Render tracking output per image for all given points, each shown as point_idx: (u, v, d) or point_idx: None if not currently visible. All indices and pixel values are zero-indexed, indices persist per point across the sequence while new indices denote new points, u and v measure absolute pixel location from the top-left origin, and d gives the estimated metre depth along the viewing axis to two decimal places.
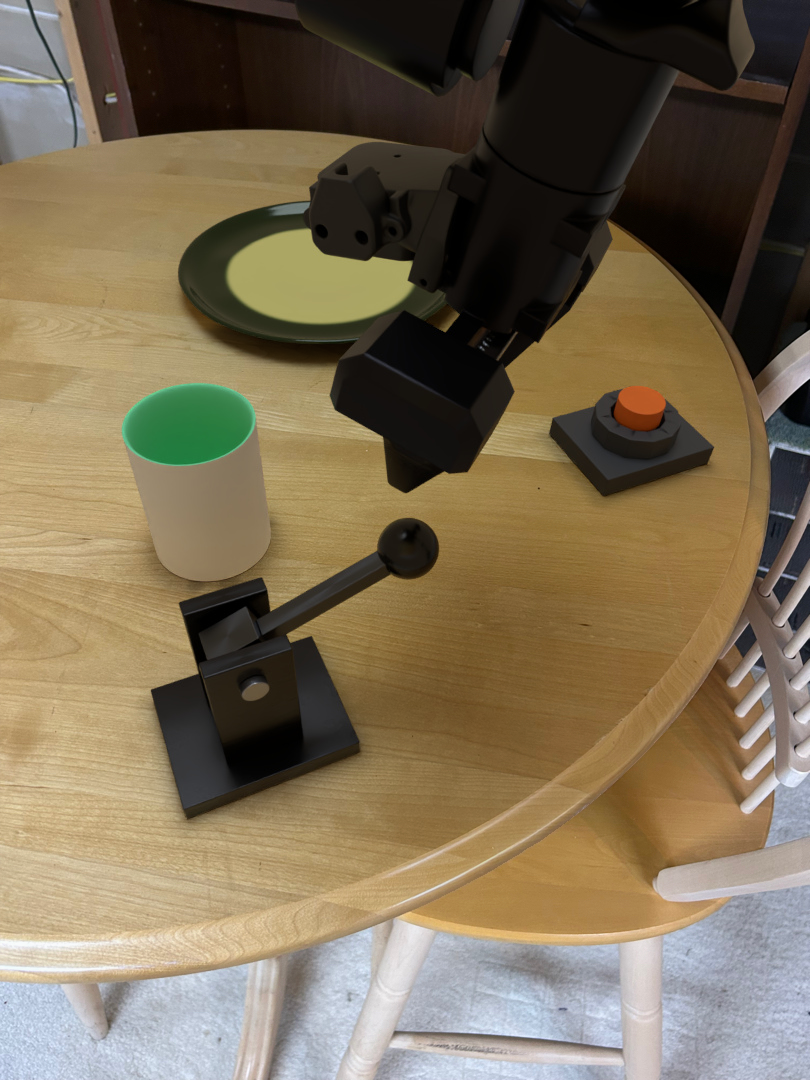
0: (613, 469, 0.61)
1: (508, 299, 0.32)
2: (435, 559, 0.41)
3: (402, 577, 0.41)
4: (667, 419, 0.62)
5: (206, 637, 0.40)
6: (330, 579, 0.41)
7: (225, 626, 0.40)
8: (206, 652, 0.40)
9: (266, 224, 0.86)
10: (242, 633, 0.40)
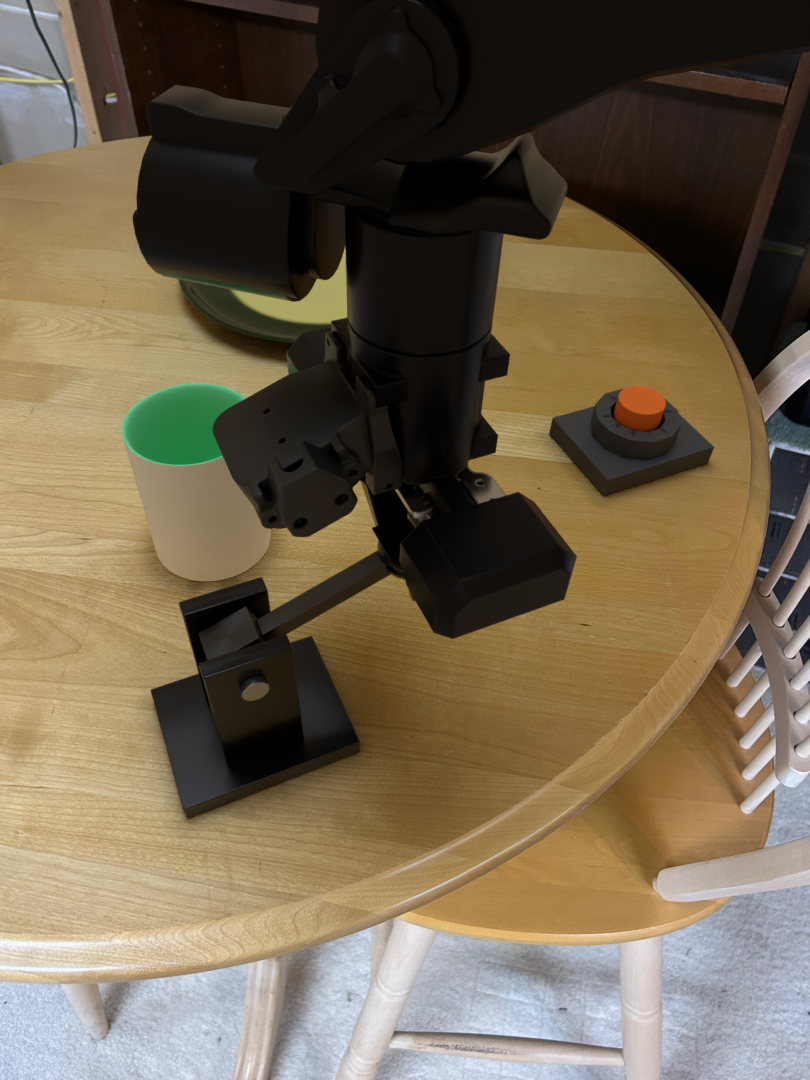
0: (613, 469, 0.61)
1: (463, 443, 0.34)
2: None
3: (402, 577, 0.41)
4: (667, 419, 0.62)
5: (206, 637, 0.40)
6: (330, 579, 0.41)
7: (225, 626, 0.40)
8: (206, 652, 0.40)
9: None
10: (242, 633, 0.40)
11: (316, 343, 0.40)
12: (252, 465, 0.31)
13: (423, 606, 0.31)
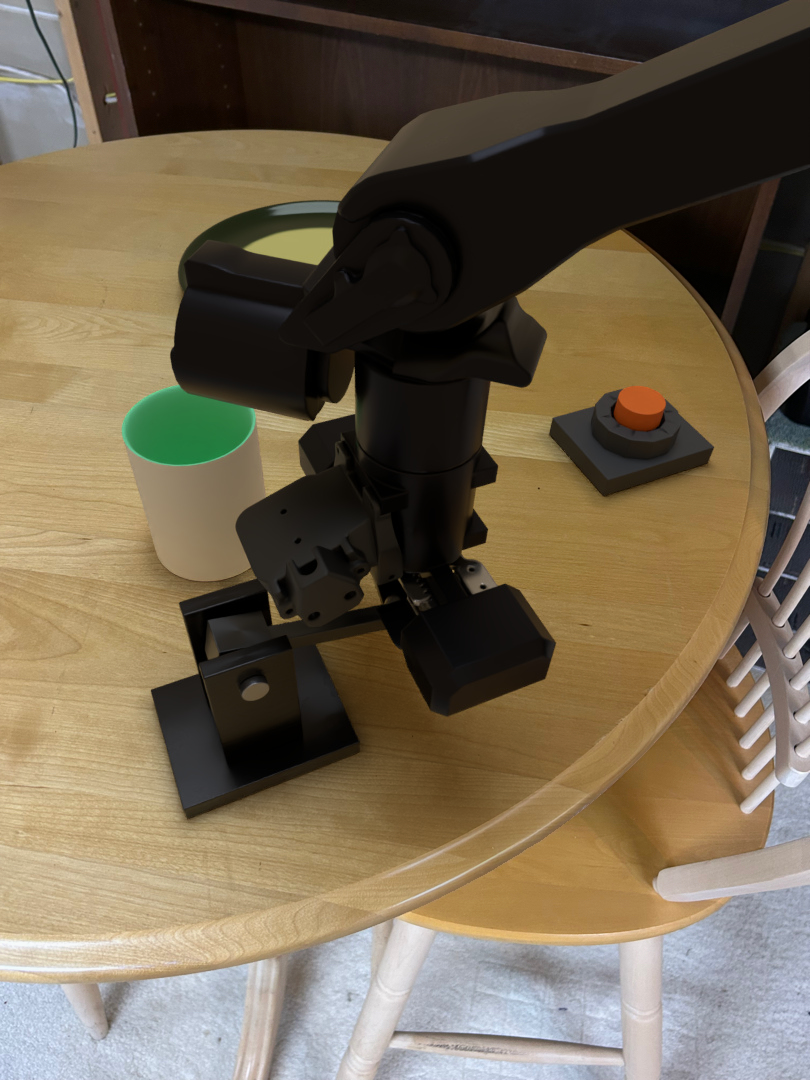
0: (613, 469, 0.61)
1: (457, 538, 0.38)
2: None
3: None
4: (667, 419, 0.62)
5: (216, 626, 0.40)
6: None
7: (237, 622, 0.41)
8: (216, 639, 0.40)
9: (266, 224, 0.86)
10: (256, 633, 0.40)
11: (325, 435, 0.44)
12: (271, 563, 0.36)
13: (421, 687, 0.36)
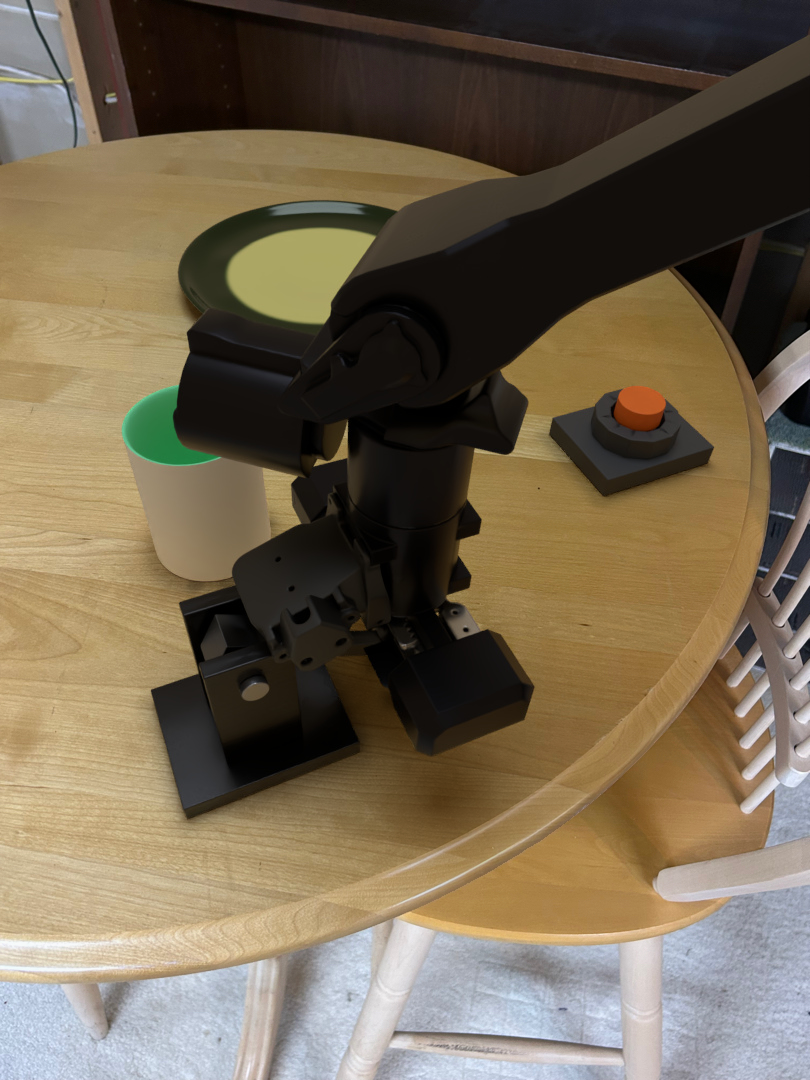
0: (613, 469, 0.61)
1: (442, 585, 0.40)
2: None
3: None
4: (667, 419, 0.62)
5: (224, 621, 0.40)
6: None
7: (243, 621, 0.41)
8: (223, 634, 0.40)
9: (266, 224, 0.86)
10: (261, 635, 0.41)
11: (317, 479, 0.46)
12: (266, 610, 0.38)
13: (407, 728, 0.38)
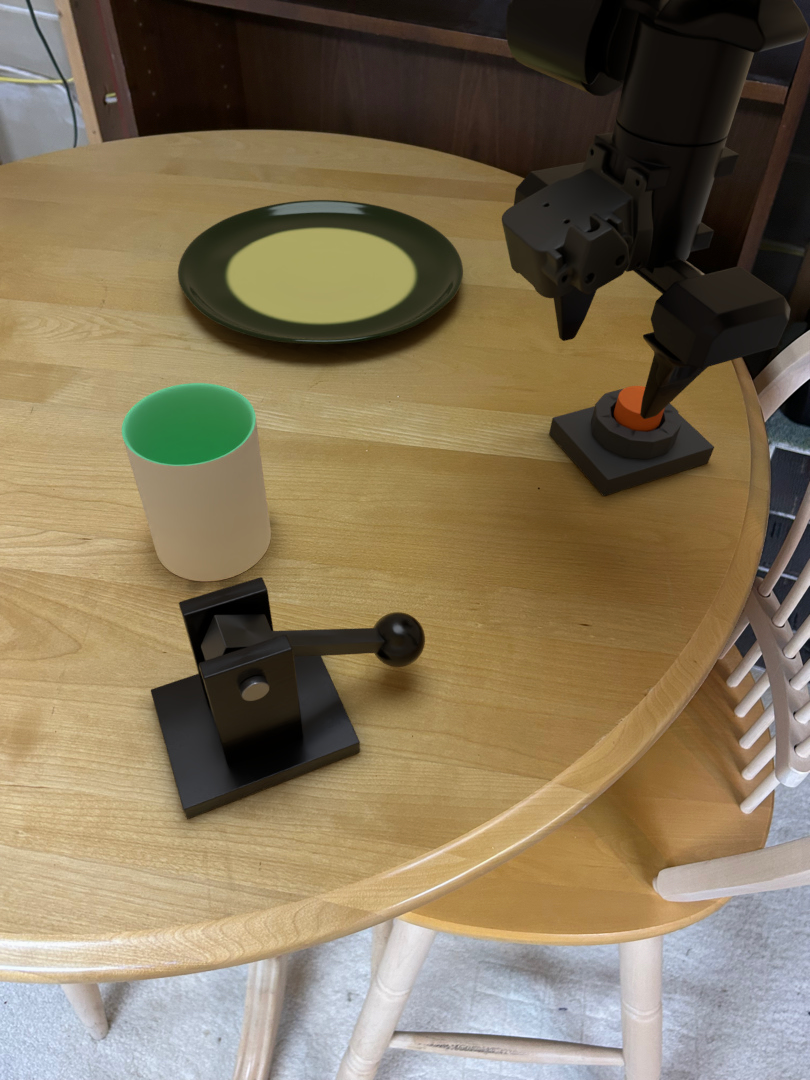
0: (613, 469, 0.61)
1: (692, 233, 0.44)
2: (417, 658, 0.47)
3: (390, 659, 0.46)
4: (667, 419, 0.62)
5: (223, 622, 0.40)
6: (336, 630, 0.44)
7: (242, 621, 0.41)
8: (223, 634, 0.40)
9: (266, 224, 0.86)
10: (261, 634, 0.41)
11: (544, 178, 0.49)
12: (547, 239, 0.41)
13: (676, 346, 0.41)
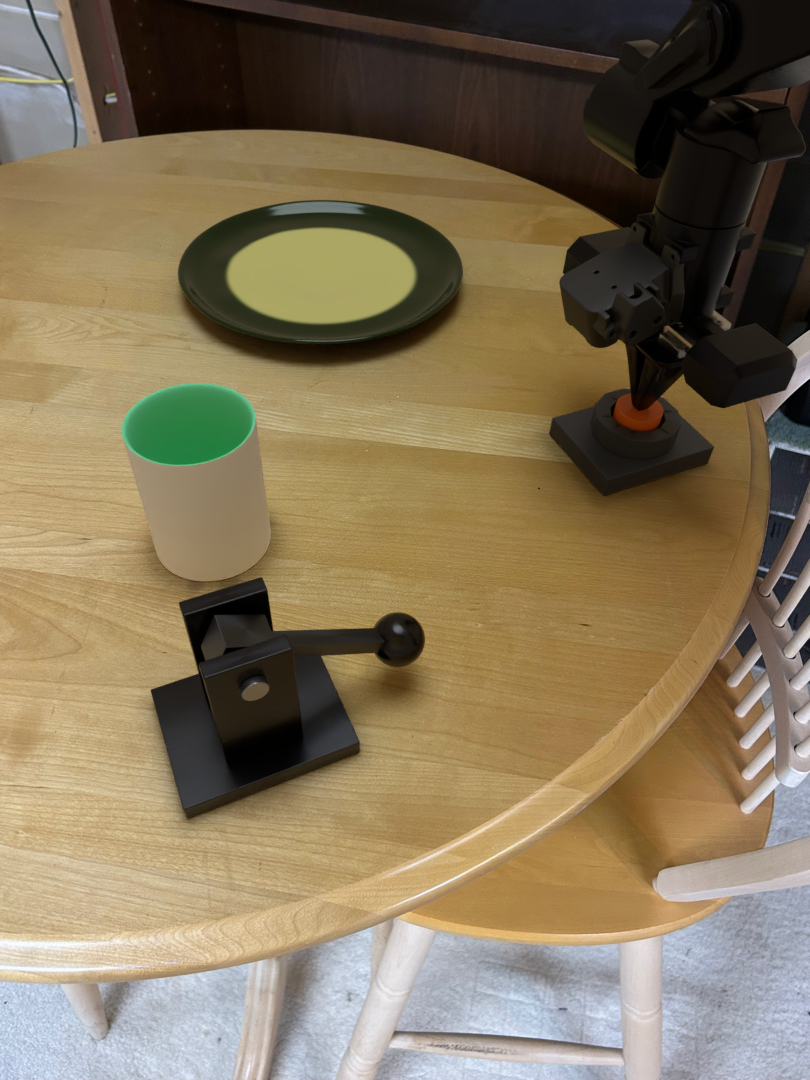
0: (613, 469, 0.61)
1: (717, 295, 0.53)
2: (417, 658, 0.47)
3: (390, 659, 0.46)
4: (667, 419, 0.62)
5: (223, 622, 0.40)
6: (336, 630, 0.44)
7: (242, 621, 0.41)
8: (223, 634, 0.40)
9: (266, 224, 0.86)
10: (261, 634, 0.41)
11: (591, 242, 0.59)
12: (597, 301, 0.50)
13: (703, 390, 0.51)
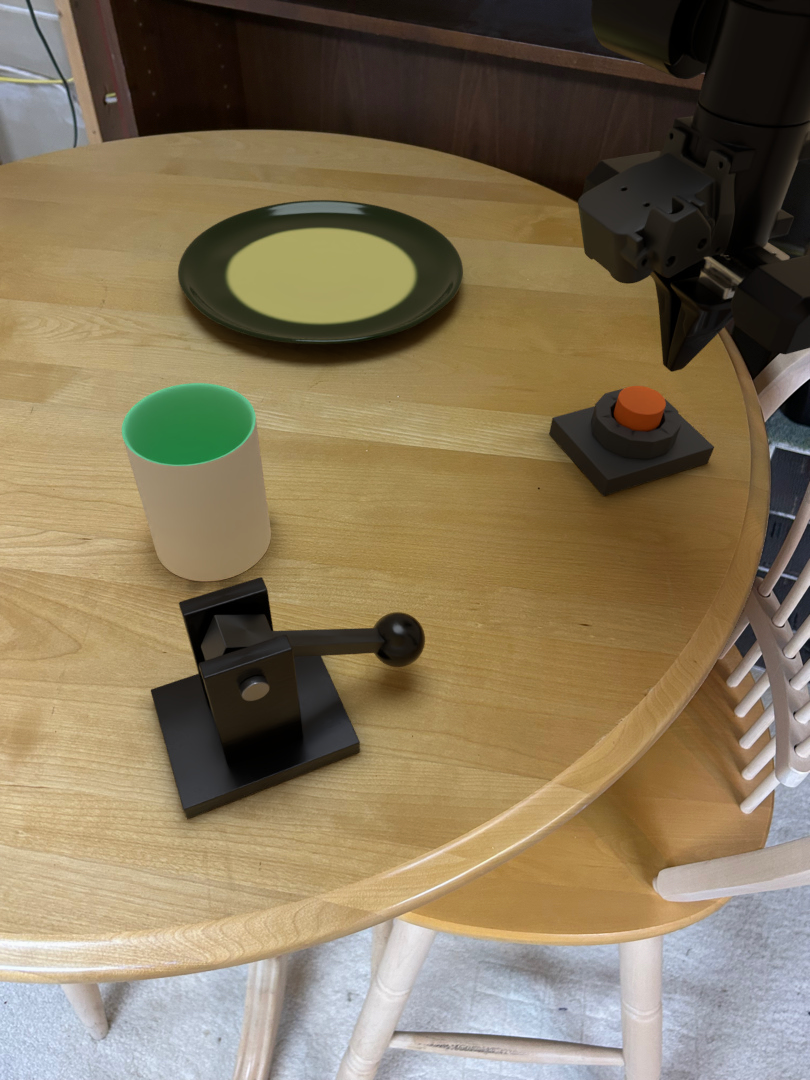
0: (613, 469, 0.61)
1: (773, 218, 0.43)
2: (417, 658, 0.47)
3: (390, 659, 0.46)
4: (667, 419, 0.62)
5: (223, 622, 0.40)
6: (336, 630, 0.44)
7: (242, 621, 0.41)
8: (223, 634, 0.40)
9: (266, 224, 0.86)
10: (261, 634, 0.41)
11: (615, 166, 0.49)
12: (626, 222, 0.40)
13: (758, 332, 0.40)
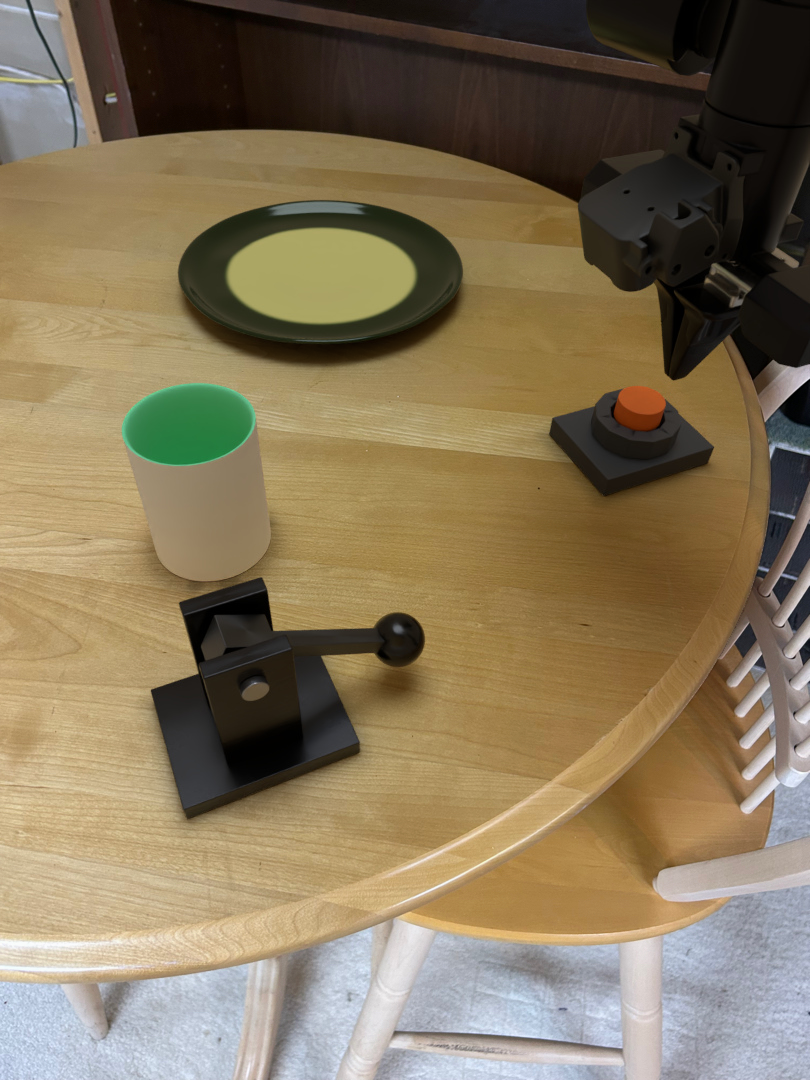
0: (613, 469, 0.61)
1: (782, 223, 0.41)
2: (417, 658, 0.47)
3: (390, 659, 0.46)
4: (667, 419, 0.62)
5: (223, 622, 0.40)
6: (336, 630, 0.44)
7: (242, 621, 0.41)
8: (223, 634, 0.40)
9: (266, 224, 0.86)
10: (261, 634, 0.41)
11: (616, 166, 0.47)
12: (629, 227, 0.38)
13: (768, 344, 0.38)
